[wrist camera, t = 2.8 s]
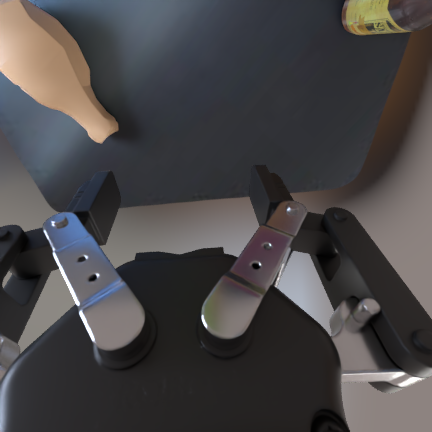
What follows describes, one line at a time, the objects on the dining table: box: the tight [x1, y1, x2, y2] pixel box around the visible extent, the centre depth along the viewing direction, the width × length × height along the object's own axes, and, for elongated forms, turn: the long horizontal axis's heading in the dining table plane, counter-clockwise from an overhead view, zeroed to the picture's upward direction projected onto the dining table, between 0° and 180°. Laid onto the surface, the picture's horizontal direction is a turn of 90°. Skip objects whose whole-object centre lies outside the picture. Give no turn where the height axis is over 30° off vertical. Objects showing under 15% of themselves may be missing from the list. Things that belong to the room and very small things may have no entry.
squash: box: [0, 0, 118, 143], centre depth 34 cm, size 11×20×9 cm, turn 29°
